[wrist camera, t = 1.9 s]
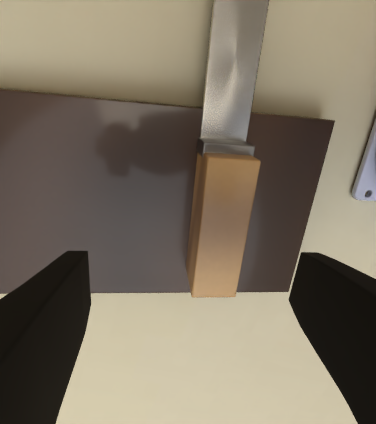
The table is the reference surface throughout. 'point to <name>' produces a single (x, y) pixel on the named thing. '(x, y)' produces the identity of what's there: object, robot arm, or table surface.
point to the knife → (225, 149)
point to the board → (140, 190)
